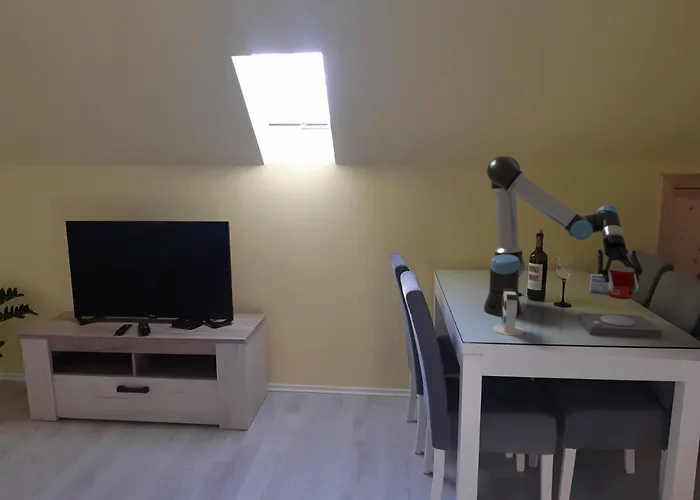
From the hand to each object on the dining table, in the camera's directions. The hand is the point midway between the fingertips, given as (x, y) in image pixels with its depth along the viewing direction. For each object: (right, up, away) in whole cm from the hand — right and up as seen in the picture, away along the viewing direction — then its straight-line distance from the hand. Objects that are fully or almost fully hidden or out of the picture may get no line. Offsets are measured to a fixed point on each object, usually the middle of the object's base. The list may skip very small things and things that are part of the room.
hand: (623, 289), depth 194 cm
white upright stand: (-41, -16, +4) cm, 45 cm away
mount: (0, -15, +6) cm, 17 cm away
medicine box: (+19, -6, +60) cm, 63 cm away
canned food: (+1, -3, +4) cm, 5 cm away
